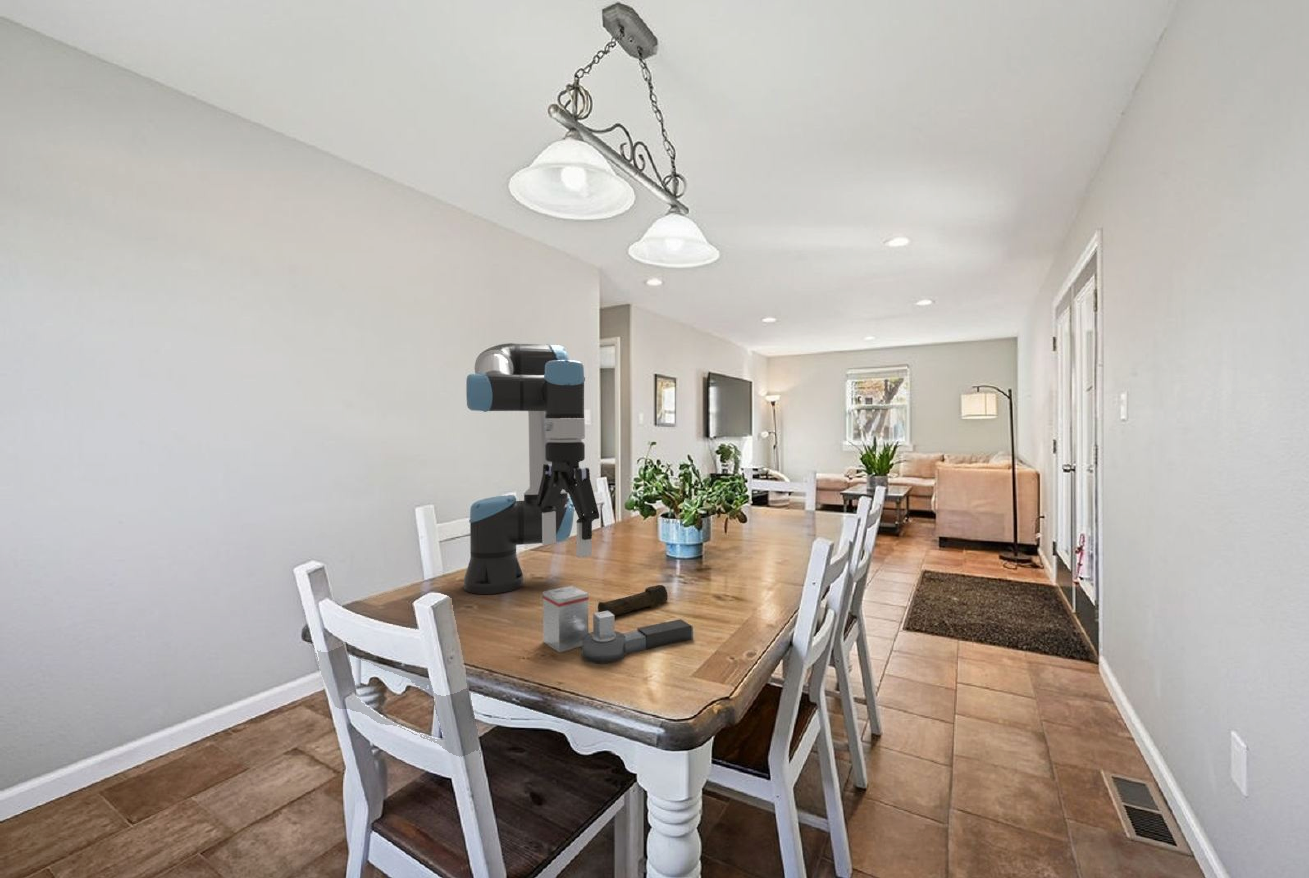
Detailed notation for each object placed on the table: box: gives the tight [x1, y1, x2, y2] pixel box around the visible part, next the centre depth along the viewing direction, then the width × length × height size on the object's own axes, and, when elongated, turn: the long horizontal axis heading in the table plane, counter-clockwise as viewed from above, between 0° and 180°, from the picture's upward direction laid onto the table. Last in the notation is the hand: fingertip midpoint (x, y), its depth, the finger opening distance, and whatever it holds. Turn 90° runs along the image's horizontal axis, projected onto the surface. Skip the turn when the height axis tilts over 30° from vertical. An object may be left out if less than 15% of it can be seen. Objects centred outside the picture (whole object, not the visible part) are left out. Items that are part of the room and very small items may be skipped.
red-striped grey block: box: [542, 585, 589, 654], centre depth 108 cm, size 6×6×10 cm
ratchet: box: [581, 611, 694, 664], centre depth 107 cm, size 22×8×8 cm, turn 119°
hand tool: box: [597, 584, 669, 617], centre depth 127 cm, size 19×4×5 cm, turn 127°
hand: (565, 550), depth 108 cm, fingers open, 13 cm apart
